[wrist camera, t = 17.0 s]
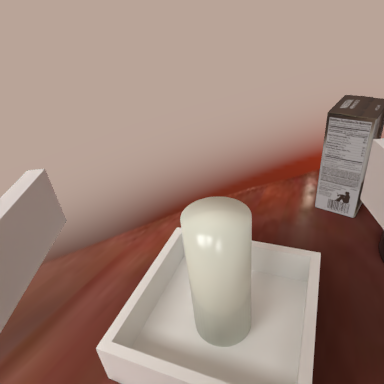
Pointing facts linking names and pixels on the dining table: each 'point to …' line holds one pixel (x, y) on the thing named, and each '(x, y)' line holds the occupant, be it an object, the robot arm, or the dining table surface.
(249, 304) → the canister
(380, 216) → the robot arm
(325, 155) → the coffee box
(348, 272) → the dining table surface
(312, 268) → the tote
